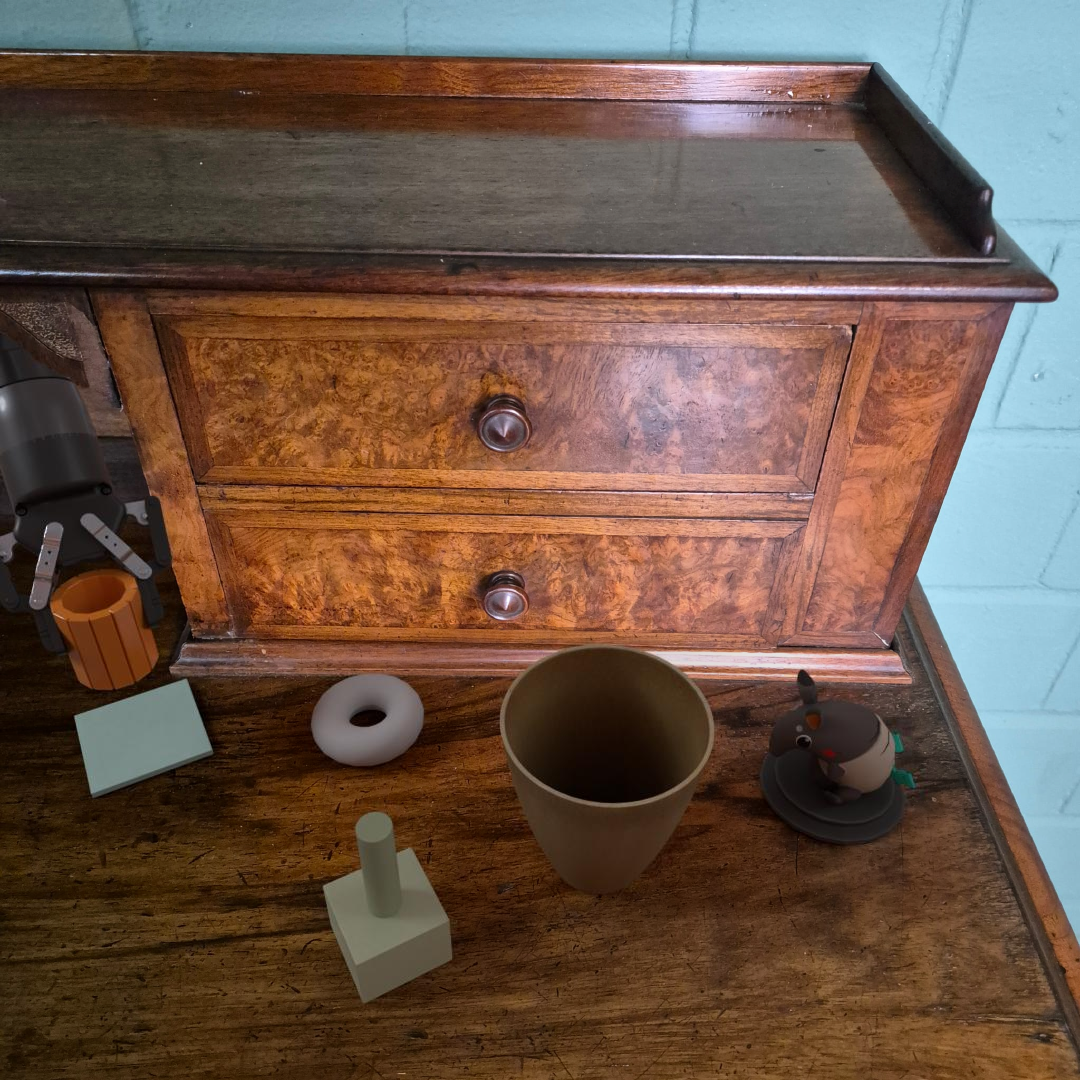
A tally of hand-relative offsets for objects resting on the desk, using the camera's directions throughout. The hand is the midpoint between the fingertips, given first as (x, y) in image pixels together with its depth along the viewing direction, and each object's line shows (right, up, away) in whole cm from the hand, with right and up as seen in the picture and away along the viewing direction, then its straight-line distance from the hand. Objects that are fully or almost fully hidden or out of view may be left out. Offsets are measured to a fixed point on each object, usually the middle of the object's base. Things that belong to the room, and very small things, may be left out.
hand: (109, 640), depth 76 cm
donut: (+19, -9, +10) cm, 23 cm away
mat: (-1, -10, +9) cm, 13 cm away
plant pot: (+39, -17, -1) cm, 43 cm away
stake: (+24, -21, -7) cm, 33 cm away
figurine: (+59, -14, +5) cm, 61 cm away
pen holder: (-1, -2, +3) cm, 4 cm away
